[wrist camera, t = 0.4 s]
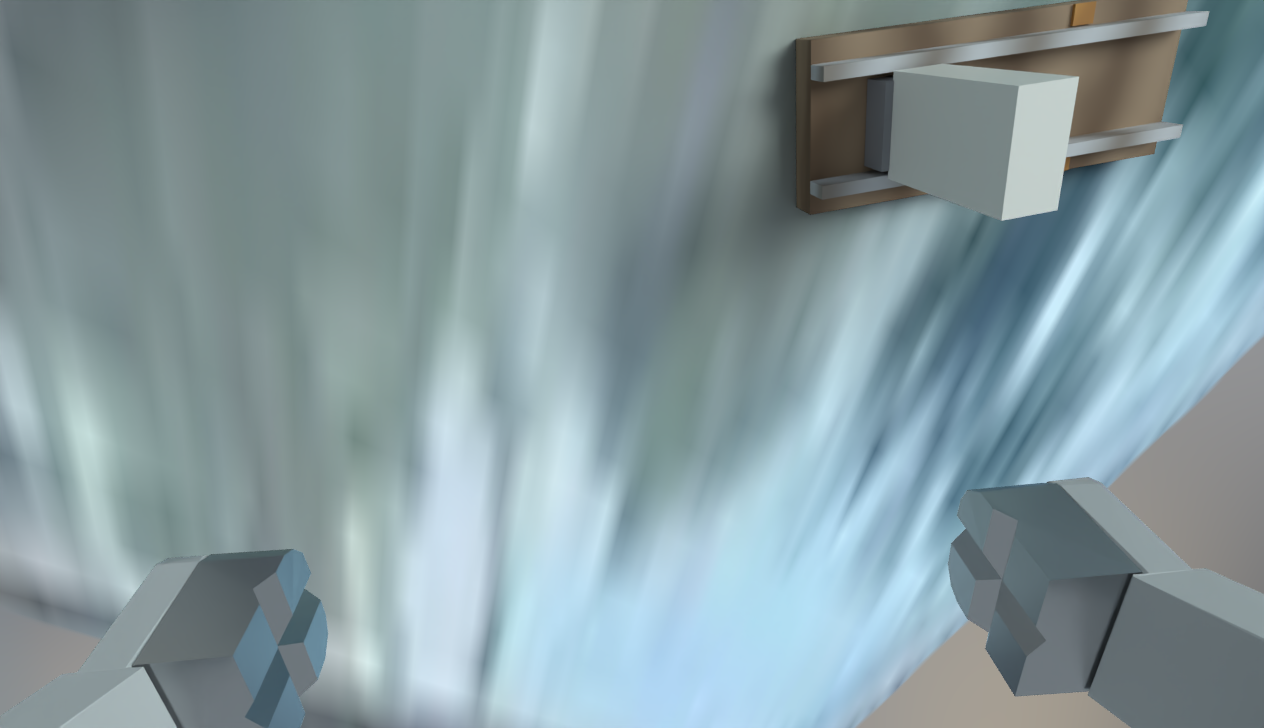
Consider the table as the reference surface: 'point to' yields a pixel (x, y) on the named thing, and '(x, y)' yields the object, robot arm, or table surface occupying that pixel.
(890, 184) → the fader track
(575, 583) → the table surface
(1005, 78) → the fader tab
